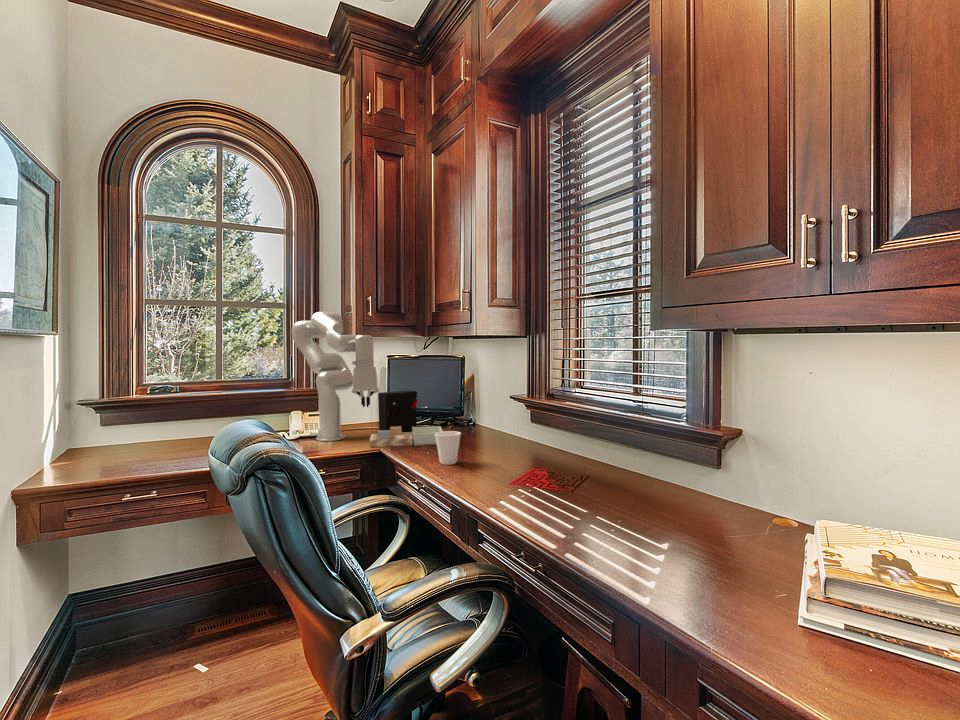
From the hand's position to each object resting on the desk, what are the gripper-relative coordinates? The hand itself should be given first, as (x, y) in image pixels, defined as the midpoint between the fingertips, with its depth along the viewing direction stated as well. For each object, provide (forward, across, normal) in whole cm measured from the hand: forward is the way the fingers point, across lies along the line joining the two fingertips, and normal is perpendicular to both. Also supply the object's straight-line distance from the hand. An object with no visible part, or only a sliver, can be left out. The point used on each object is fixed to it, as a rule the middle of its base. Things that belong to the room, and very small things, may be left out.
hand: (365, 406), depth 218 cm
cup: (+17, +32, -38) cm, 52 cm away
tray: (+17, +26, +4) cm, 32 cm away
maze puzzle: (+18, +62, -66) cm, 92 cm away
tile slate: (+14, +8, 0) cm, 16 cm away
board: (+17, +10, +4) cm, 20 cm away
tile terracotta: (+14, +12, +8) cm, 20 cm away
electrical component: (+17, +14, +28) cm, 36 cm away
